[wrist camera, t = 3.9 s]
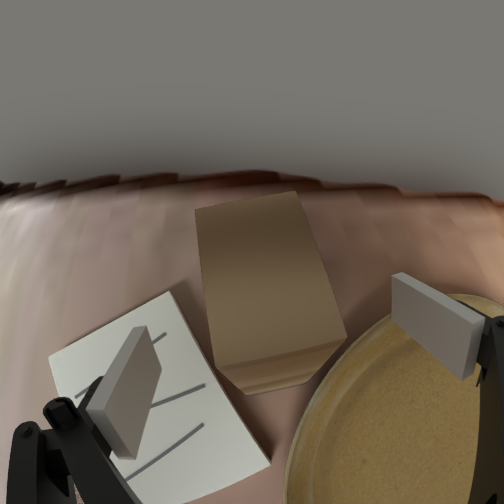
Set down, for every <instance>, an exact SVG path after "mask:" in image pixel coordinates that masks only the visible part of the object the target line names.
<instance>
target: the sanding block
mask: <svg viewBox="0 0 504 504" xmlns="http://www.w3.org/2000/svg"><path fill="white" fill-rule="evenodd" d="M195 217H196V227H197V237H198V246H199V255H200V263H201V272H202V280H203V288H204V295H205V303H206V310H207V317H208V324H209V331H210V338H211V344H212V350H213V357H214V363H215V367H216V368H217V369H218V370H219V371H220V372H221V373H222V374H223V375H224V376H225V377H226V378H228V379H229V380H230V381H231V382H232V383H233V384H234V385H235V386H236V387H237V388H239V389H240V390H241V391H242V392H243V393H244V394H245V395H246V396H251V395H256V394H261V393H266V392H271V391H276V390H280V389H285V388H289V387H293V386H298V385H302V384H305V383H306V382H307V381H308V380H309V379H310V378H311V377H312V376H313V375H314V374H315V373H316V372H317V371H318V370H319V369H320V368H321V367H322V365H323V364H324V363H325V362H326V361H327V360H328V359H329V358H330V357H331V356H332V355H333V353H334V352H335V351H336V350H337V349H338V348H339V347H340V345H341V344H342V343H343V342H344V341H345V340H346V339H347V337H348V336H347V333H346V330H345V327H344V323H343V320H342V317H341V314H340V311H339V308H338V305H337V302H336V299H335V296H334V293H333V290H332V287H331V284H330V281H329V278H328V276H327V273H326V270H325V267H324V264H323V261H322V259H321V256H320V253H319V250H318V248H317V245H316V242H315V239H314V237H313V234H312V231H311V229H310V226H309V224H308V221H307V218H306V216H305V213H304V211H303V208H302V206H301V203H300V200H299V198H298V195H297V193H296V191H290V192H284V193H278V194H272V195H267V196H261V197H256V198H250V199H245V200H239V201H234V202H229V203H224V204H219V205H214V206H209V207H204V208H199V209H195Z"/></svg>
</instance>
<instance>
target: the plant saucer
mask: <svg viewBox="0 0 504 504" xmlns="http://www.w3.org/2000/svg"><path fill="white" fill-rule="evenodd" d="M444 295H446V296H448V297H450V298H452V299H455V300H459V301H462V302H464V303H466V304H468V305H469V306H472V307H473V308H475V310H476V309H477V310H479V311H480V312H482V313H484V314H486V315H487V316H489V317H491V318H494V317H496V316H501V315H504V307H503V306H502V305H500V304H498V303H496V302H494V301H492V300H489V299H486V298H483V297H480V296H476V295H470V294H456V293H453V294H444ZM391 318H392V313H390V314H389V315H387V316H386V317H384V318H383V319H381V320H380V321H378V322H377V323H375V324H374V325H373V326H371V327H370V328H369V329H368V330H367V331H365V332H364V333H363V334H362V335H361V336H360V337H359V338H358V339H357V340H355V341H354V342H353V343H352V344H351V346H350V347H349V348H348V349H347V350H346V351H345V352H344V353H343V354H342V355H341V356H340V358H339V359H338V360H337V361H336V363H335V364H334V365H333V366H332V368H331V369H330V370H329V372H328V373H327V375H326V376H325V377H324V379H323V380H322V382H321V383H320V385H319V386H318V388H317V390H316V391H315V393H314V395H313V396H312V398H311V400H310V402H309V404H308V406H307V408H306V410H305V412H304V414H303V416H302V418H301V420H300V423H299V425H298V427H297V430H296V433H295V435H294V438H293V441H292V444H291V447H290V451H289V455H288V459H287V463H286V468H285V474H284V483H283V504H467V503H468V500H469V496H470V491H471V486H472V480H473V474H474V468H475V461H476V453H477V444H478V432H479V415H480V383H479V385H478V387H476V384H477V380H478V377H479V373H480V370H481V365H479V364H478V363H477V362H476V366H475V370H474V374H473V375H471V376H469V377H467V378H466V379H464V380H462V381H461V380H460V379H458V378H457V377H456V376H455V375H454V374H453V373H452V372H451V371H450V370H448V369H447V368H446V367H445V366H444V365H443V364H442V363H441V362H439V361H438V360H437V359H436V358H435V357H434V356H433V355H432V354H430V353H429V352H428V351H427V350H426V349H425V348H424V347H422V346H421V345H420V344H419V343H418V342H417V341H415V340H414V339H413V338H412V337H411V336H410V335H408V334H407V333H406V332H405V331H404V330H403V329H401V328H400V327H399V326H398V325H397V324H396V323H394V322H393V321H392V320H391Z"/></svg>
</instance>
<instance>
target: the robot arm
mask: <svg viewBox="0 0 504 504" xmlns="http://www.w3.org/2000/svg"><path fill="white" fill-rule="evenodd" d="M391 287H392V318H391V320H392V321H393V322H394V323H396V324H397V325H398V326H399V327H400V328H401V329H403V330H404V331H405V332H406V333H407V334H408V335H410V336H411V337H412V338H413V339H414V340H415V341H417V342H418V343H419V344H420V345H421V346H422V347H424V348H425V349H426V350H427V351H428V352H429V353H430V354H432V355H433V356H434V357H435V358H436V359H437V360H438V361H439V362H441V363H442V364H443V365H444V366H445V367H446V368H447V369H448V370H450V371H451V372H452V373H453V374H454V375H455V376H456V377H457V378H458V379H460V380H461V381H462V380H464V379H466V378H467V377H469V376H471V375H473V374H474V370H475V366H476V362H477V363H478V364H479V365H481V370H480V373H479V377H478V380H477V384H476V387H478V385H479V383H480V415H479V432H478V444H477V453H476V461H475V468H474V474H473V480H472V486H471V491H470V496H469V500H468V503H467V504H504V315H501V316H496V317H494V318H491V317H489V316H487V315H486V314H484V313H482V312H480V311H479V310H477V309H476V310H475V308H473V307H472V306H469V305H468V304H466V303H464V302H462V301H459V300H455V299H452V298H450V297H448V296H446V295H444V294H443V293H441V292H439V291H437V290H435V289H433V288H432V287H430V286H428V285H426V284H424V283H422V282H420V281H418V280H417V279H415V278H413V277H411V276H409V275H407V274H405V273H403V272H401V273H397V274H394V275H391ZM161 372H162V367H161V365H160V362H159V359H158V357H157V354H156V351H155V348H154V346H153V343H152V340H151V337H150V334H149V331H148V328H147V325H146V326H139V327H133V329H132V330H131V332H130V333H129V335H128V337H127V338H126V340H125V342H124V343H123V345H122V347H121V348H120V350H119V352H118V353H117V355H116V357H115V358H114V360H113V362H112V363H111V365H110V367H109V368H108V370H107V372H106V374H105V375H104V376H99V377H98V378H97V379H96V380H95V381H93V382H92V384H91V385H90V387H89V389H88V391H87V392H86V394H85V395H84V396H85V397H83V399H82V400H81V402H80V404H79V406H78V407H77V408H76V406H75V405H74V403H73V401H72V400H71V399H70V398H68V397H58V398H55V399H53V400H51V401H50V402H48V403H47V404H46V405H45V407H44V409H43V415H44V416H45V418H46V419H47V421H48V422H49V424H50V425H51V427H52V428H53V429H48V430H41V429H40V427H39V426H38V424H37V423H36V422H33V421H28V422H25V423H22V424H21V425H19V426H18V427H17V428H16V429H15V431H14V434H13V440H12V446H11V453H10V461H9V469H8V480H7V496H6V504H77V501H76V495H75V489H74V483H75V485H76V487H77V489H78V492H79V494H80V496H81V498H82V500H83V502H84V504H143V503H142V502H141V501H140V499H139V498H138V497H137V496H136V494H135V493H134V492H133V490H132V489H131V488H130V486H129V485H128V483H127V482H126V481H125V479H124V478H123V476H122V475H121V473H120V472H119V471H118V469H117V468H116V466H115V465H114V463H113V462H112V460H111V459H110V458H109V457H110V454H111V451H113V452H114V454H115V455H116V457H117V458H118V459H120V460H136V457H137V454H138V450H139V446H140V443H141V439H142V435H143V432H144V428H145V425H146V421H147V418H148V414H149V411H150V408H151V404H152V401H153V398H154V394H155V391H156V388H157V384H158V381H159V378H160V375H161Z"/></svg>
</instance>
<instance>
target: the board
mask: <svg viewBox="0 0 504 504" xmlns="http://www.w3.org/2000/svg"><path fill="white" fill-rule="evenodd" d="M146 325H147V328H148V331H149V334H150V337H151V340H152V343H153V346H154V348H155V351H156V354H157V357H158V359H159V362H160V365H161V367H162V372H161V375H160V378H159V381H158V384H157V388H156V391H155V394H154V398H153V401H152V404H151V408H150V411H149V414H148V418H147V421H146V425H145V428H144V432H143V435H142V439H141V443H140V446H139V450H138V454H137V457H136V460H120V459H118V458H117V457H116V455H115V454H114V452H113V451H111V454H110V457H109V458H110V459H111V460H112V462H113V463H114V465H115V466H116V468H117V469H118V471H119V472H120V473H121V475H122V476H123V478H124V479H125V481H126V482H127V483H128V485H129V486H130V488H131V489H132V490H133V492H134V493H135V494H136V496H137V497H138V498H139V499H140V501H141V502H142V503H143V504H184V503H187V502H190V501H193V500H195V499H198V498H200V497H203V496H206V495H208V494H211V493H213V492H215V491H218V490H220V489H223V488H225V487H227V486H229V485H232V484H234V483H236V482H238V481H240V480H242V479H245V478H247V477H249V476H251V475H253V474H255V473H257V472H259V471H261V470H263V469H264V468H266V467H268V466H270V465H271V461H270V459H269V458H268V456H267V455H266V453H265V452H264V450H263V449H262V448H261V446H260V445H259V443H258V442H257V440H256V439H255V437H254V436H253V434H252V433H251V431H250V430H249V428H248V427H247V425H246V423H245V422H244V420H243V419H242V417H241V416H240V414H239V412H238V411H237V409H236V408H235V406H234V404H233V403H232V401H231V400H230V398H229V396H228V395H227V393H226V391H225V390H224V388H223V386H222V385H221V383H220V381H219V380H218V378H217V376H216V374H215V373H214V371H213V369H212V368H211V366H210V364H209V362H208V360H207V359H206V357H205V355H204V353H203V352H202V350H201V348H200V346H199V344H198V342H197V341H196V339H195V337H194V335H193V333H192V331H191V329H190V327H189V326H188V324H187V322H186V320H185V318H184V316H183V314H182V312H181V310H180V308H179V306H178V304H177V302H176V300H175V299H174V297H173V296H172V294H171V293H170V292H169V291H168V292H166V293H164V294H162V295H160V296H159V297H157V298H155V299H153V300H151V301H149V302H148V303H146V304H144V305H142V306H140V307H138V308H137V309H135V310H133V311H131V312H129V313H127V314H126V315H124V316H122V317H120V318H118V319H116V320H115V321H113V322H111V323H109V324H107V325H105V326H104V327H102V328H100V329H98V330H96V331H95V332H93V333H91V334H89V335H87V336H85V337H84V338H82V339H80V340H78V341H76V342H75V343H73V344H71V345H69V346H67V347H65V348H64V349H62V350H60V351H58V352H56V353H55V354H53V355H51V356H49V357H48V358H49V362H50V366H51V370H52V374H53V378H54V381H55V384H56V388H57V391H58V394H59V397H68V398H70V399H71V400H72V401H73V403H74V405H75V406H76V408H77V407H78V406H79V404H80V402H81V400H82V399H83V397H85V396H84V395H85V394H86V392H87V391H88V389H89V387H90V385H91V384H92V382H93V381H95V380H96V379H97V378H98V377H99V376H104V375H105V374H106V372H107V370H108V368H109V367H110V365H111V363H112V362H113V360H114V358H115V357H116V355H117V353H118V352H119V350H120V348H121V347H122V345H123V343H124V342H125V340H126V338H127V337H128V335H129V333H130V332H131V330H132V329H133V327H139V326H146Z"/></svg>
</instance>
